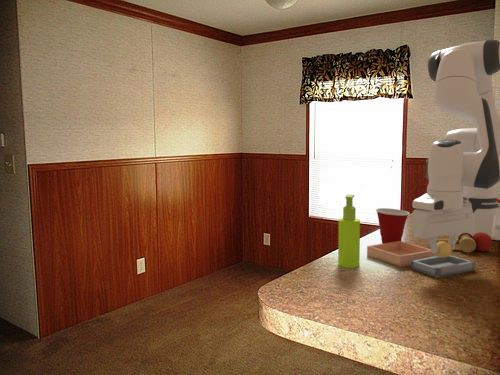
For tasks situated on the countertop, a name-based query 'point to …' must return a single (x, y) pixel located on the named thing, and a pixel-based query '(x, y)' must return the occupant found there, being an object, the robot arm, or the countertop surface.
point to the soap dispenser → (349, 236)
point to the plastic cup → (391, 224)
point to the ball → (444, 249)
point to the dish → (398, 253)
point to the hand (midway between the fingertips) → (442, 251)
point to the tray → (442, 266)
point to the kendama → (472, 242)
